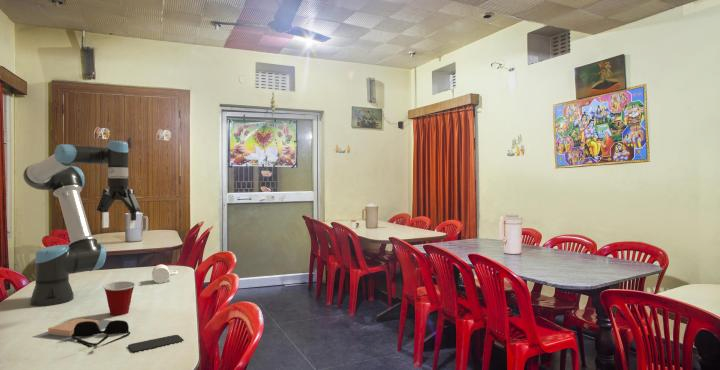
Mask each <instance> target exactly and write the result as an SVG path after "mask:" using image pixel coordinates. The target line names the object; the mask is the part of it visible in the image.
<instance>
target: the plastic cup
mask: <svg viewBox="0 0 720 370" xmlns="http://www.w3.org/2000/svg"><path fill="white" fill-rule="evenodd" d="M135 286H136V283H135V282H133V281H129V280H128V281H126V280H123V281H121V280H120V281H113V282H109V283H106V284H104V285H103V286H102V288H103V289H104V291H105V295H106V301H107V306H108V310H109V314H110V316H112V317H118V316H123V315H127V314H129V312H130V306H131V302H132V301H131V300H132V296H133V292H134V288H135Z"/></svg>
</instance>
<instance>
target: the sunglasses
mask: <svg viewBox="0 0 720 370" xmlns="http://www.w3.org/2000/svg"><path fill="white" fill-rule="evenodd" d="M110 321H111V322H109V323H108V325H107V326H106V328H105V329H103V330H100V328H99V326H98V324H97V323H96V322H93V321H84V322H79V323H77V324H76V326H75V328H74V334H72V335H71V338H74V339H76V340H75V341H76V343H78V344H80V345H83V346H85V347H86V348H92V347H94V346H98V348H99V347H103V346H106V345H108V344H111V343H113V342H116V341H119V340H121V339H123V338H124V339H125V338H126V337H128V336H130V334H131V331H129V330H130V329H129V328H130V327H129V323H128V322H127V321H125V320H122V319H121V320H120V319H119V320H118V319H116V320H110ZM100 334H101V335H102V334H105V336H104V337H103V338H102V339H100V340H99V341H98V342H96V343H95V342H89V341H86V340H84V339H82V338H85V337H91V336H96V335H100ZM113 334H114V335H116V334H119V335H120V334H124V335H121V336H119V337H118V338H116V339H113V340H110V341H108V342H106V343H104V344H101V343H103V342H104V341H106V340H107V339H108V338H109V336H110V335H113ZM77 337H81V338H77ZM100 344H101V345H100ZM105 344H106V345H105Z"/></svg>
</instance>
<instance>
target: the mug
mask: <svg viewBox="0 0 720 370" xmlns="http://www.w3.org/2000/svg"><path fill="white" fill-rule="evenodd" d="M178 273H179V272H178V270H172V269H171V270H169V267H168V266H167V265H165V264H158V265H156V266H154V267H153V269H152V270H151V276H152V277H151V278H152V280H153V281H154V282H155V283H156V284H165V283H166V282H167V281H168V280H169V279H170V276H176V275H178Z"/></svg>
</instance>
